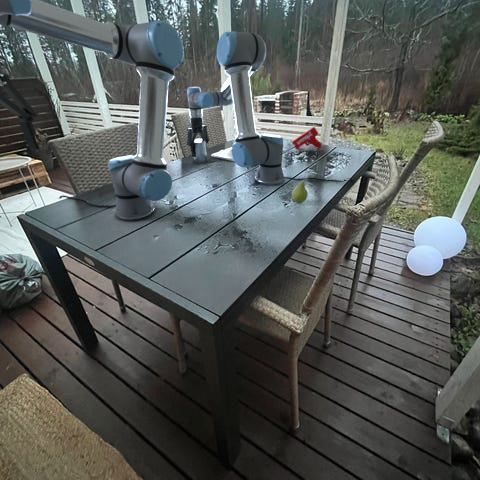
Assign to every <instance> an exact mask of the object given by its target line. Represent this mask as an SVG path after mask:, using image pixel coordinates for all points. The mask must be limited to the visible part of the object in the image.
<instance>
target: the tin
mask: <svg viewBox="0 0 480 480" xmlns="http://www.w3.org/2000/svg"><path fill="white" fill-rule="evenodd" d="M194 146H195V155H196V157H192V163H195V164H205V163H207V161H208V152H207V153H206V140H203V139H202V138H195V142H194Z"/></svg>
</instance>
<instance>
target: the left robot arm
mask: <svg viewBox="0 0 480 480" xmlns="http://www.w3.org/2000/svg"><path fill="white" fill-rule="evenodd" d="M0 25H1V26H6V27H10V28H14V29H18V30H21V31H25V32H28V33H32V34H35V35H39V36H42V37H47V38H49V39H52V40H56V41H59V42H60V41H61V42H63V43H68V44H71V45H75V46H77V47H82V48H85V49H88V50H93V51H96V52H100V53H104V54H105V56H106V57H107V58H109V59H112V60H115V61H118V62H122V63H124V64H127V65H131V66H134V67H135V69H136V71H137V72H138V74H139V76H140V86H139V87H140V89H139V108H138V130H137V131H138V133H137V151H136V154H132V155H124V156H123V155H122V156H118V157H115V158H114V157H113V158H112V159H110V160H108V161H107V169H108V172H109V176H110V180H111V183H112V187H113V190H114V193H115V197H116V202H115V204H110V205H109V204H95V203H91V202H90V201H89V200H87V199H85V198H81V197H72V196H68V195H64V194H63V195H60V196H59V197H58V199H62V198H66V199H70V200H77V201H82V202H86V203H87V204H88V205H90V206H92V207H98V208H115V215H116V218H117V219H119V220H120V221H125V222H127V221H128V222H132V221H133V222H134V221H140V220H144V219H146V218H148V217H151V216H152V215H153V214H154V213H155V210H156V209H155V205H154V202H157V201H161V200H163V199H165V197H166V196H168V195H169V193H170V191H171V189H172V185H173V179H172V176H171V175H170V173H169V172H168V171H167V169H168V167H167V166H168V163H167V162H166V159H164V150H165V137H166V125H167V124H166V122H167V109H168V96H169V84H170V82H172V80H174V78H175V70H176V68H178V67H179V66H180V65H181V64H182V62H183V59H184V45H183V42H182V39H181V37H180V36H179V32H178V30H177V29H176V28H175V27H174V26H173V25H172V24H170V23H169V22H167V21H164V20H151V21H149V22H143V23H142V22H141V23H134V24H119V23H116V22H112V21H109V20H108V21H106V22H105V23H104V22H102V21H98V20H96V19H93V18H91V17H88V16H85V15H82V14H79V13H76V12H74V11H70V10H68V9H64V8H62V7H59V6H57V5H53V4H51V3H48V2H45V1H43V0H0ZM0 87H1V88H2V89H3V90H4V92H6V94H7V95H8V96H9V97H10V99H12V100H13V101H12V100H10V99H9V98H8V97H7V96H5V94H3V92H1V91H0V105H1V106H3V107H4V108H5V109H7V111H9V112H11V113H12V114H13V115H15V116H16V117H17V118H19V119H20V120H19V121H18V124H19V127H20V130H21V132H22V134H23V136H24V139H25V141H26V143H27V146H28V148H29V149H31V150H39V149H40V146H39V144H38V141H37V138H36V136H35V135H36V134H37V131H36V129H35V126H34V120H35V118H37V117H38V115H39V114H38V112H37V111H36V110H35V108H34V107H33V106H32V105H31V104H30V103H29V102H28V101H27V100H26V98H25V97H24V96H23V95H22V94H21V93H20V91H19V90H18V89H17V88H16V87H15V86H14V85H13V82H12V81H11V78H10V77H9V75H8V74H6V73H4V74H3V73H0Z"/></svg>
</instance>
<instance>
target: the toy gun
mask: <svg viewBox="0 0 480 480" xmlns="http://www.w3.org/2000/svg"><path fill="white" fill-rule="evenodd" d="M318 134H319V131H318V130H317V128H316V127H315V126H312V127H311V128H310V129H308V130H307V131H305V132H303V133H302V134H300V135H299V136H298V137H296V138H295V139H293V140H292V141H291V143H292V145H293V146H294V148H295V149H299V148H300V147H302V146H304V145H305V146H306V147H309V146H310V145H312V146H313V147H314V148H316V147H318V149H319V147H320V149H321V148H322V145H323V143H322V142H321V140H320V141H319V140H318V138H317V136H318ZM298 147H299V148H298Z"/></svg>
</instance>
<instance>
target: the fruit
mask: <svg viewBox="0 0 480 480" xmlns="http://www.w3.org/2000/svg"><path fill="white" fill-rule="evenodd" d="M305 178H306V179H305V180H300V182H298V184H297V185H296V186H295V187H294V188H293V190H292V191H291V198H292V200H293V201H294V202H295V203H297V204H301V203H304V202H305V201H306V200H307V198H308V196H309V195H308V190H307V189H306V184H305V183H306V180H308V179H307V178H311V175H310V174H309V175H308V176H307V177H305Z"/></svg>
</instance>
